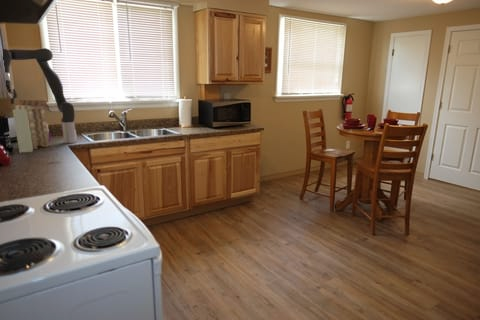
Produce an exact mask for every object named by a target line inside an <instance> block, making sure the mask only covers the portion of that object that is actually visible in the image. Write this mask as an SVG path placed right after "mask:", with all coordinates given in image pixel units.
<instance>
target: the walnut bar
mask: <svg viewBox="0 0 480 320" xmlns="http://www.w3.org/2000/svg"><path fill="white" fill-rule="evenodd" d="M19 105H27V106H44V107H47V106H48V103H47V100H46V99H45V100H44V99H41V100H40V99H19Z"/></svg>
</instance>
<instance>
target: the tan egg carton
mask: <svg viewBox="0 0 480 320" xmlns="http://www.w3.org/2000/svg"><path fill="white" fill-rule="evenodd" d="M13 105H14V104H13ZM19 109H27V114H28V120H29V127H30V133H31V140H32V147H33V150H36V149H38V146H39V147H50V141H48V134H47V127H46V122H47V121H46V113H45V106H27V105H20V104H19V105H17V104H16V105H14V110H19Z"/></svg>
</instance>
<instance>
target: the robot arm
mask: <svg viewBox="0 0 480 320" xmlns="http://www.w3.org/2000/svg"><path fill="white" fill-rule="evenodd" d="M2 49H3V60H4V66H5V78H6V87H7V90H8V96H9V98H10V104H11V105H14V104H15V99H17V98H18V93H17V89H16V88H12V87H11V75H10V74H11V73H10V72H11V71H10V66H11V63H12V61H24V60H25V61H27V60H36V62H37V63H38V65H39V68H40V69H41V70H42V72H43V75H44V77H45V79H46V82H47V85H48V86H49V89H50V91H51V93H52V95H53V97H54V99H55V103H56V106H57V109H58V111H59V112H60V113H61V114H62V118H61V120H60V121H61V128H62V134H63V135H62V136H63V143H64V144H75V143H77V142H78V136H77V130H76V126H75V107H74V105H73V104H72V103H71V102H68V101H67V100H66V97H65V95H64V87H63V84H62V81H61V78H60V77H59V75H58V74H57V73H56V72H55V71H54V69H52V67H51V66H50V64H49V61H52V59H53V57H54V55H53V52H52V51H51V50H50V49H48V48H45V47H44V48H38V49H15V48H14V49H8V48H7V49H6V48H2ZM11 92H13V94H12V93H11Z"/></svg>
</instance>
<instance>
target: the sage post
mask: <svg viewBox="0 0 480 320" xmlns="http://www.w3.org/2000/svg"><path fill="white" fill-rule="evenodd" d="M12 113H13V114H12V115H13V121H14V127H15V133H16V141H17V145H18V151H19V154H22V152H23V153H32V152H33V151H34V149H33V147H32V140H31V133H30V127H29V120H28V114H27V109H19V110H15V109H12Z"/></svg>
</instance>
